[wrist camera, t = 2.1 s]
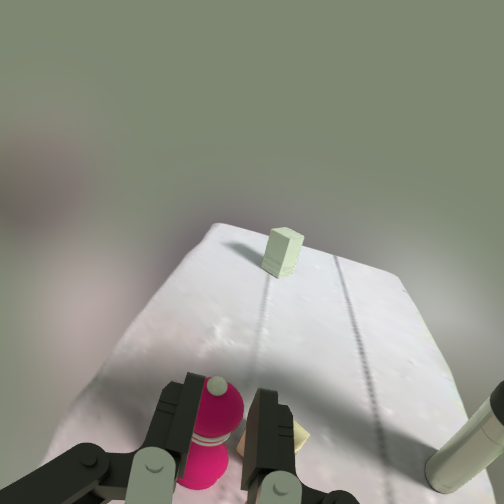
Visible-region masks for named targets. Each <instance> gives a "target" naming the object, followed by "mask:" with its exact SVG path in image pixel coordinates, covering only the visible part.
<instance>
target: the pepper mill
mask: <svg viewBox="0 0 504 504" xmlns="http://www.w3.org/2000/svg"><path fill="white" fill-rule="evenodd" d="M243 412H244V404H243V400H242V397H241V395H240V393H239V392H238V390H237V389H236V388H235V387H234V386H233V385H231V384H230V383H229V382H227V381H226V380H225V379H224V378H222V377H220V376H214V377H209V378H205V382H204V387H203V392H202V396H201V401H200V405H199V410H198V414H197V419H196V423H195V427H194V432H193V436H192V441H191V445H190V450H189V454H188V459H187V463H186V468H185V472H184V477H183V479H181V478H177V482H178V483H179V484H181V485H182V486H184V487H186V488H189V489H193V490H202V489H206V488H209V487H210V486H212V485H213V484H214V483H215V482H216V481H217V479H219V478H220V477H221V476H222V475H223V474H224V472H225V471H226V468H227V465H228V460H229V457H228V452H227V448H226V446H225V444H224V443H223V442H225V441H226V440H227V439H228V438H229V436H230V434H231V432H232V431H233V430H234V429H235V428H236V427H237V426H238V425H239V424H240V422H241V420H242V417H243Z"/></svg>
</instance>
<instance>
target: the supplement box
mask: <svg viewBox="0 0 504 504" xmlns="http://www.w3.org/2000/svg"><path fill="white" fill-rule="evenodd" d="M303 239H304V236H303V235H301V234H299V233H297V232H295V231H293V230H291V229H289V228H287V227H284V228H275V229H271V232H270V236H269V239H268V243H267V247H266V250H265V254H264V258H263V262H262V265H261V268H263V269H264V270H266V271H267V272H269V273H270V274H272V275H273V276H275V277H276V278H282V277H285V276H288V275H292V274H293V272H294V268H295V265H296V262H297V259H298V256H299V253H300V249H301V246H302V243H303Z"/></svg>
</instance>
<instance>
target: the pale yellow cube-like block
mask: <svg viewBox="0 0 504 504" xmlns="http://www.w3.org/2000/svg"><path fill="white" fill-rule="evenodd" d="M293 423H294V428H293V430H294V446H295V455H296V454H297V452H298V451H299V450H300V448H301V447H302V446H303V444H304V443H305V442H306V440H307V439H308V437H309V436H310V434H309V433H308V432H307V431H306V430H304V429H303V428H302V427H301V426H300V425H299V424H298V423H297V422H295V421H294V420H293ZM245 434H246V428H245V430H244V433H243V435H242V437H241V439H240V441H239V444H238V446H237V448H236V451H237V452H238V453H239V454H240V455H241V456H242V457H244V446H245Z"/></svg>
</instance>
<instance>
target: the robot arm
mask: <svg viewBox="0 0 504 504" xmlns="http://www.w3.org/2000/svg"><path fill="white" fill-rule="evenodd" d="M205 378H206V376H202V375H198V374H194V373H190V372H187V375H186V378H185V382H184V384H180V383H176V382H173V381H171V382H170V383H169V384H168V385H167V386H166V387H165V388H164V389H163V390H162V393H161V396H160V399H159V402H158V404H157V407H156V411H155V413H154V415H153V418H152V421H151V424H150V427H149V430H148V433H147V436H146V439H145V441H144V443H143V445H142V446H141V447H140V448H139V449H137V450H136V451H134V452H131V453H108V452H105V451H104V450H103V449H102V448H101V447H99V446H98V445H96V444H93V443H80V444H77V445H76V446H74V447H72V448H71V449H69V450H68V451H66V452H64V453H63V454H61V455H60V456H58V457H56V458H55V459H53V460H51V461H50V462H48V463H47V464H45V465H43V466H42V467H40V468H38V469H36V470H35V471H33V472H31V473H30V474H28V475H26V476H25V477H23V478H21V479H20V480H18V481H16V482H14V483H12V484H10V485H9V486H7V487H5V488H3V489H1V490H0V504H107V503H109V502H110V501H111V500H125V504H172V496H173V493H174V491H175V487H176V482H177V478H181V479H183V477H184V472H185V468H186V463H187V459H188V454H189V450H190V445H191V441H192V436H193V432H194V427H195V423H196V419H197V414H198V410H199V405H200V401H201V396H202V392H203V387H204V382H205ZM293 428H294V423H293V415H292V413H291V411H290V409H289V407H288V405H281V404H278V392H277V391H275V390H269V389H263V388H258V390H257V392H256V394H255V397H254V399H253V402H252V404H251V407H250V409H249V412H248V417H247V423H246V434H245V446H244V457H243V469H242V480H241V490H245V491H248V497H247V501H246V502H245V504H360V503H359V502H358V501H357V500H356V498H355V497H354V496H353V495H352V494H351V493H349V492H347V491H343V490H336V491H332V492H330V493H324V492H321V491H318V490H315V489H312V488H309V487H307V486H306V485H304V484H303V483H302V482H301V481H300V480H299V478H298V477H297V474H296V470H295V446H294V430H293ZM503 451H504V381H502V382H501V383H500V384H499V385H498V386H497V387H496V388H495V390H494V391H493V392H492V394H491V395H490V396H489V397H488V399H487V400H486V401H485V402H484V404H482V406H481V407H480V408H479V409H478V410H477V412H476V413H475V414H474V415H473V416H472V417H471V418H470V419H469V420H468V422H467V423H466V424H465V425H464V426H463V427H462V428H461V429H460V430H459V431H458V432H457V433H456V434H455V435H454V436H453V437H452V438H451V439H450V440H449V441H448V442H447V443H446V444H445V445H444V446H443V447H442V448H441V449H440V450H438V451H437V452H436V453H435V454H434V455H433V456H432V457H431V458H430V459H429V460H428V462H427V464H426V468H425V473H426V477H427V480H428V482H429V484H430V485H431V486H432V487H433V488H434V489H435V490H437V491H438V492H441V493H446V494H448V493H452V492H455V491H456V490H457V489H459V488H460V487H462V486H463V485H464V484H465V483H467V482H468V481H469V480H471V479H472V478H473V477H475V476H476V475H477V474H478V473H480V472H481V471H482V470H483V469H484V468H486V467H487V466H488V465H489V464H490V463H491V462H492V461H494V460H495V459H496V458H497V457H498V456H499V455H500V454H501V453H502V452H503Z"/></svg>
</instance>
